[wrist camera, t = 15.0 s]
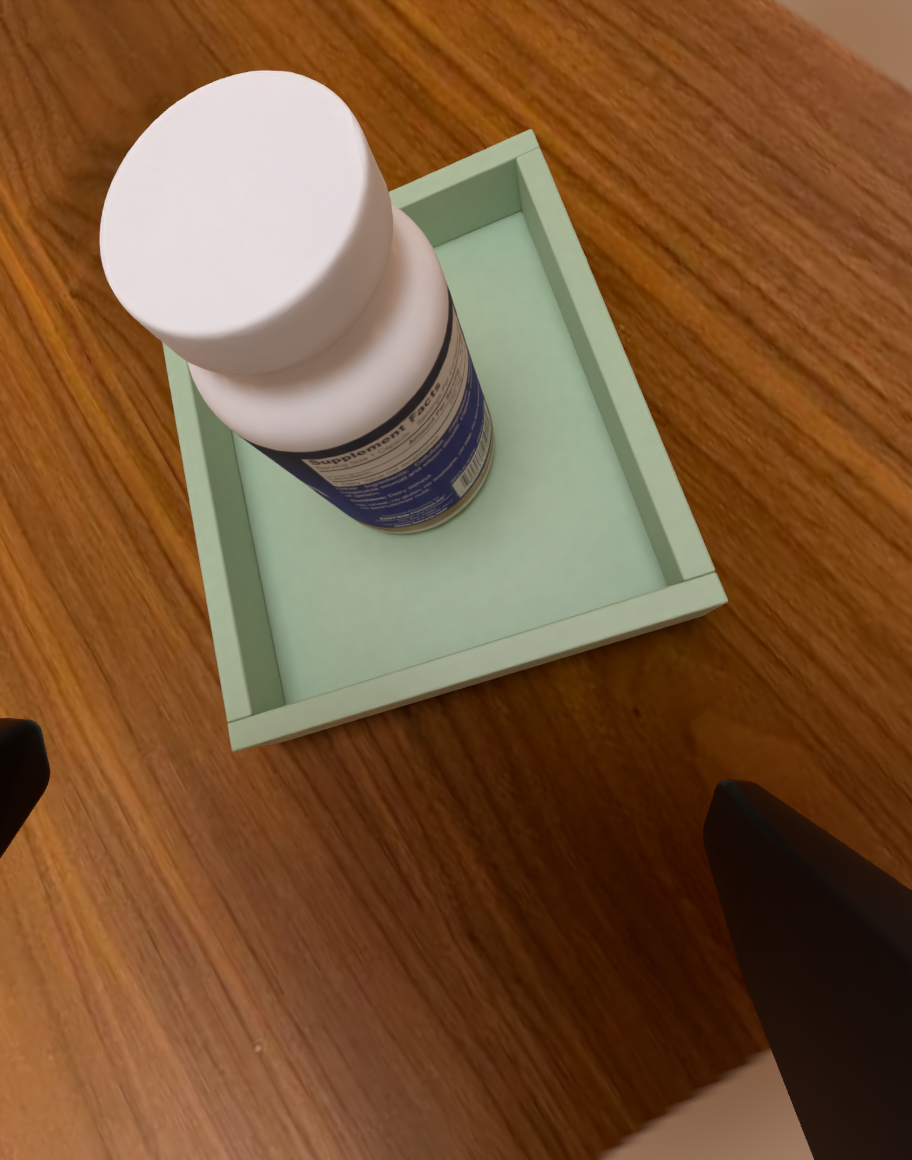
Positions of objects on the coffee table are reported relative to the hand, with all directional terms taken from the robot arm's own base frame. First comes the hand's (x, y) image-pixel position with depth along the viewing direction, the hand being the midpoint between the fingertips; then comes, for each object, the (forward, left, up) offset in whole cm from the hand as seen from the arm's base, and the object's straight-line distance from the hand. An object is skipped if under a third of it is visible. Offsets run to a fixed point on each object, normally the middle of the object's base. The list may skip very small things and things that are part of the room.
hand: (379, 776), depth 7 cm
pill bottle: (+9, -1, -9) cm, 13 cm away
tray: (+9, -1, -9) cm, 13 cm away
